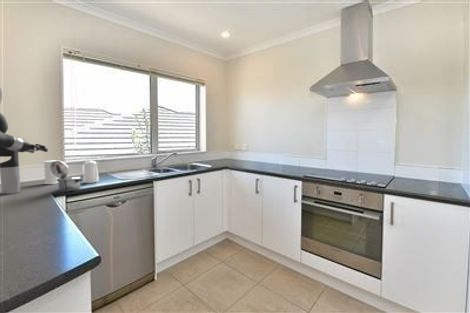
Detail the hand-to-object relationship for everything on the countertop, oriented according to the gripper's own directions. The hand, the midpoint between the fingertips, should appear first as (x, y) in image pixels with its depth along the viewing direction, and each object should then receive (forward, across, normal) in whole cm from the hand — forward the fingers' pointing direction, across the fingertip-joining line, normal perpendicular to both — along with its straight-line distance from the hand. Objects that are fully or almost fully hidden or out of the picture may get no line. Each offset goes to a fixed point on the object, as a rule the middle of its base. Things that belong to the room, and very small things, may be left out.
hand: (40, 150), depth 148 cm
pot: (+26, -2, +22) cm, 34 cm away
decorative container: (+46, +27, +14) cm, 55 cm away
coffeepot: (+51, -2, +14) cm, 53 cm away
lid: (+15, -3, +10) cm, 18 cm away
